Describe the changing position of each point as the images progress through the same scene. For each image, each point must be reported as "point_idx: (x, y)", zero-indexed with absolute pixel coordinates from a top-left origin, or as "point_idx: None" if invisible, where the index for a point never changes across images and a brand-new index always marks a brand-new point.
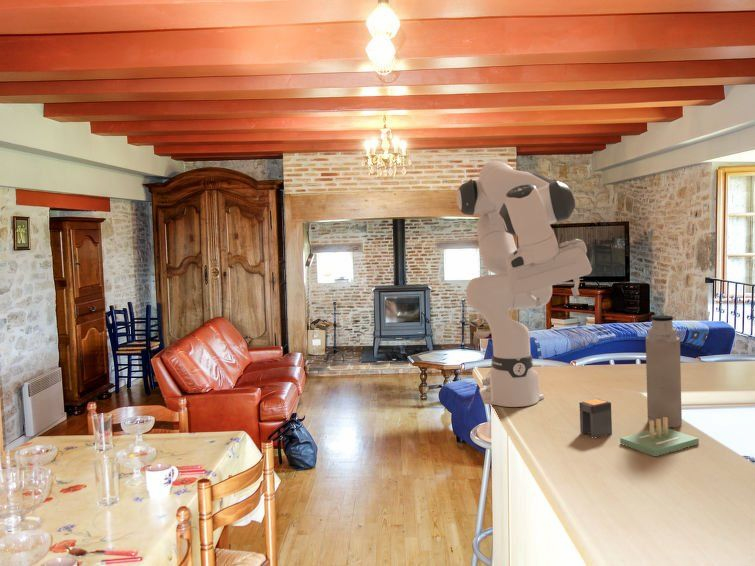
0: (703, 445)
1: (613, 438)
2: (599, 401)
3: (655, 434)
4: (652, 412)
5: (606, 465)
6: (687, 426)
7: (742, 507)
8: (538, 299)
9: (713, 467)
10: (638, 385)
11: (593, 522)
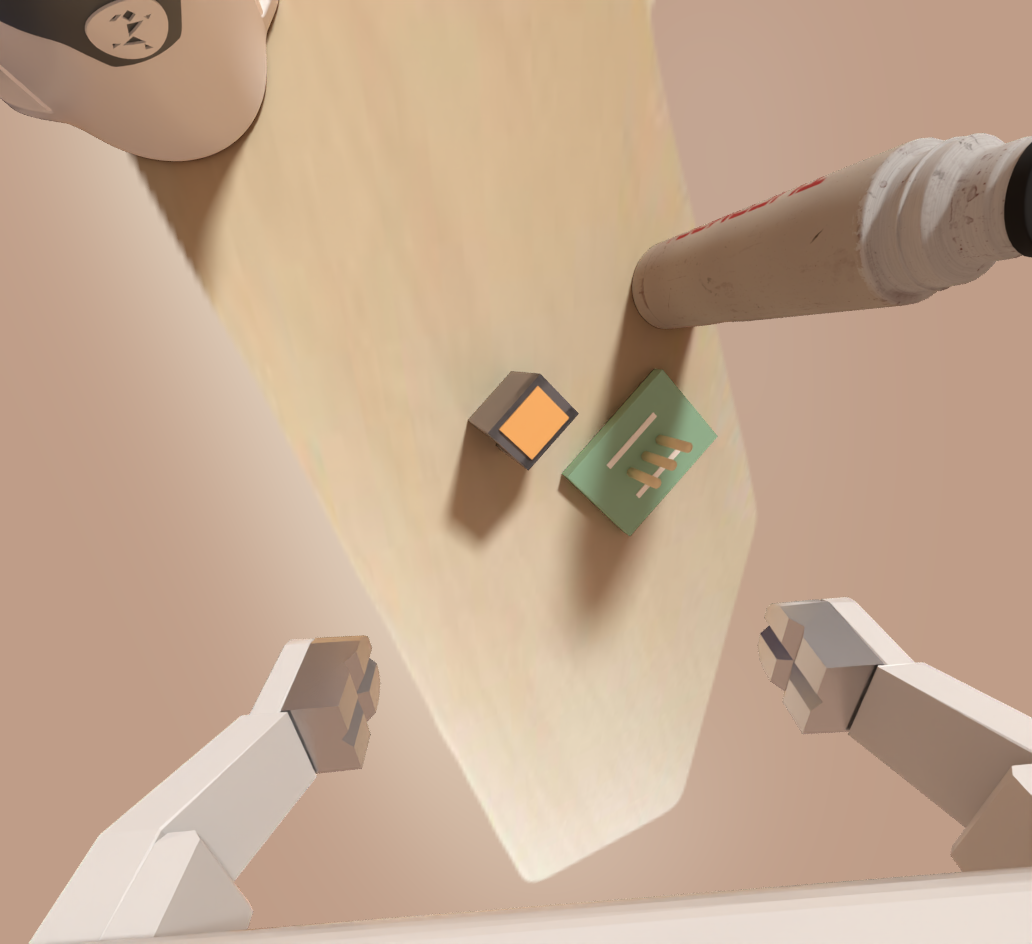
0: None
1: None
2: (547, 416)
3: (641, 433)
4: (660, 312)
5: (533, 604)
6: None
7: (707, 682)
8: (342, 757)
9: (705, 549)
10: None
11: (518, 813)
